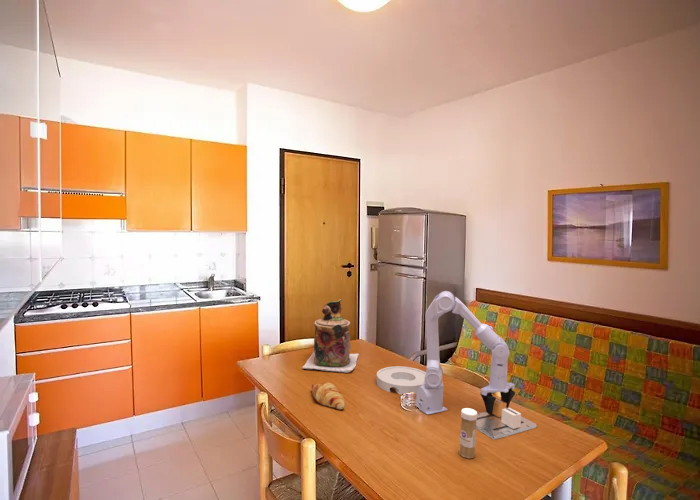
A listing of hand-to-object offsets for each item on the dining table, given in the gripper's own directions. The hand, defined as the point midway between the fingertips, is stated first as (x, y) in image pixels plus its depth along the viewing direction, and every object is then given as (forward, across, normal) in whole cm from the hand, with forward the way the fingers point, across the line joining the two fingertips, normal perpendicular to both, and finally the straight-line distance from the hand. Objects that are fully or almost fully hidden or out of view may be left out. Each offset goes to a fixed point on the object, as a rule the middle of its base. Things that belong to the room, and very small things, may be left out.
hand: (496, 411), depth 141 cm
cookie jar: (+2, -32, +74) cm, 81 cm away
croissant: (+3, -51, +36) cm, 63 cm away
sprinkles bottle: (+2, -27, -14) cm, 31 cm away
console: (+2, -3, -4) cm, 5 cm away
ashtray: (+3, -14, +39) cm, 42 cm away
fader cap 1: (+1, 0, 0) cm, 1 cm away
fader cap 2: (+1, -2, -8) cm, 8 cm away
